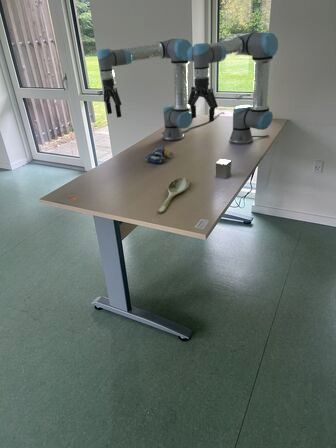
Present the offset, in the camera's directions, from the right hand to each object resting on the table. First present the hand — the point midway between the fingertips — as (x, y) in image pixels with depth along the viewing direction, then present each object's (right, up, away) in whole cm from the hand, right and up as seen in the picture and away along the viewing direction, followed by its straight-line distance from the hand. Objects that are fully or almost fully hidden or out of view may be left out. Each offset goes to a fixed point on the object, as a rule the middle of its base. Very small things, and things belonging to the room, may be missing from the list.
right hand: (202, 119), depth 182 cm
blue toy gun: (-23, -15, +31) cm, 42 cm away
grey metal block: (+12, -30, +1) cm, 33 cm away
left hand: (-52, +11, +25) cm, 59 cm away
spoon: (-16, -43, -16) cm, 49 cm away
